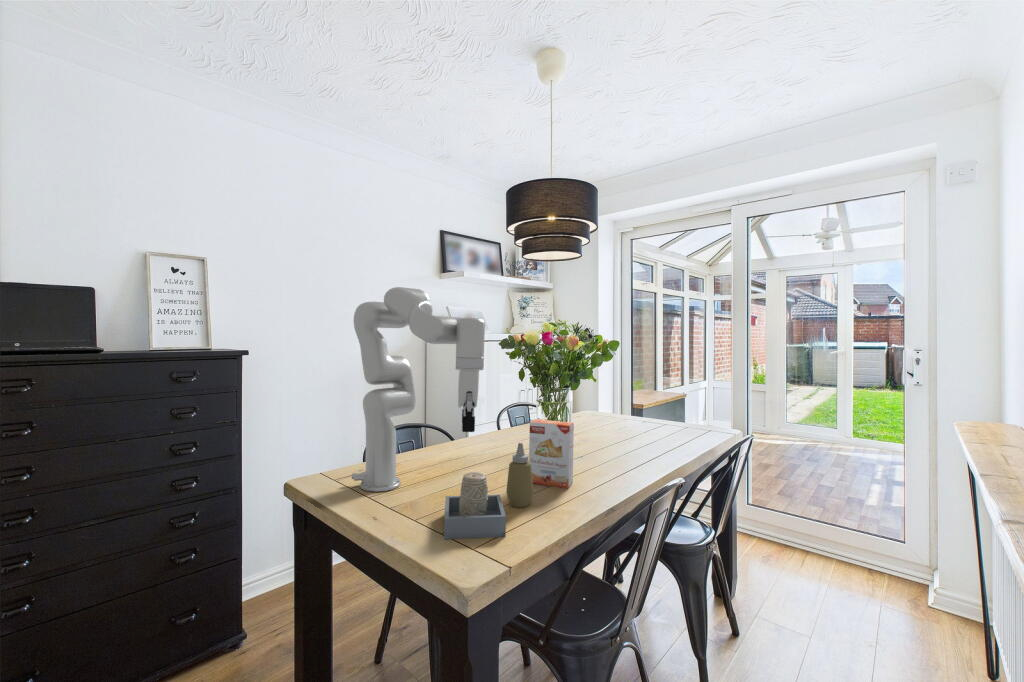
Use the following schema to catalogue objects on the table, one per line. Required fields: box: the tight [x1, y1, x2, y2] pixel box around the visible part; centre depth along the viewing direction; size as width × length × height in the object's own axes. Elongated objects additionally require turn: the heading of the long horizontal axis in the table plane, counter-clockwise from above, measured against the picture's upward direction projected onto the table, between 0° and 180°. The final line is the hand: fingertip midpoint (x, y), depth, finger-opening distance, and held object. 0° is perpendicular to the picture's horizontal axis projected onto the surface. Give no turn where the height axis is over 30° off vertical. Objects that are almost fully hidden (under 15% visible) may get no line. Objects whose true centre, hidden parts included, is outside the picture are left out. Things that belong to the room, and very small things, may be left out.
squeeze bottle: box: [506, 442, 534, 508], centre depth 130 cm, size 8×8×18 cm
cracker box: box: [528, 418, 575, 489], centre depth 149 cm, size 14×6×21 cm, turn 68°
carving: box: [459, 471, 489, 516], centre depth 116 cm, size 6×8×12 cm
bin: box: [443, 494, 507, 540], centre depth 115 cm, size 15×15×5 cm
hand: (468, 427), depth 119 cm, fingers open, 9 cm apart
